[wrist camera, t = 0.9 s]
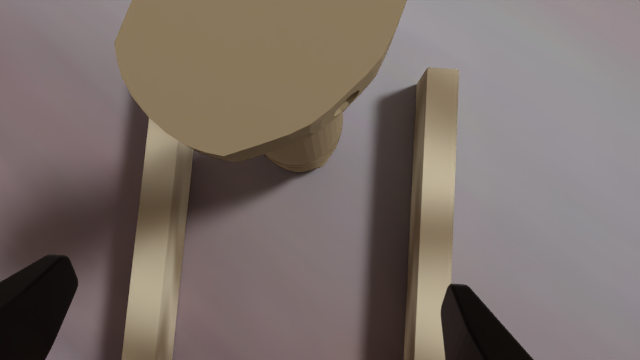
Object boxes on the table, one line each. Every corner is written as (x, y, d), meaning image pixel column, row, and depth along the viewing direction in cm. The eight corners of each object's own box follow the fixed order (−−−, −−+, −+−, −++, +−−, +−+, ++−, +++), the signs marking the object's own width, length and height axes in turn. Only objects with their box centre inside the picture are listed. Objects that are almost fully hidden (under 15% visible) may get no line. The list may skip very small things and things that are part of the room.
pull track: (433, 456, 22) (458, 510, 18) (130, 432, 22) (87, 479, 18) (448, 86, 24) (473, 58, 20) (171, 68, 24) (140, 37, 20)
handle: (233, 154, 23) (69, 33, 8) (314, 77, 24) (297, -169, 9) (292, 215, 23) (230, 203, 8) (374, 136, 23) (461, -17, 8)
